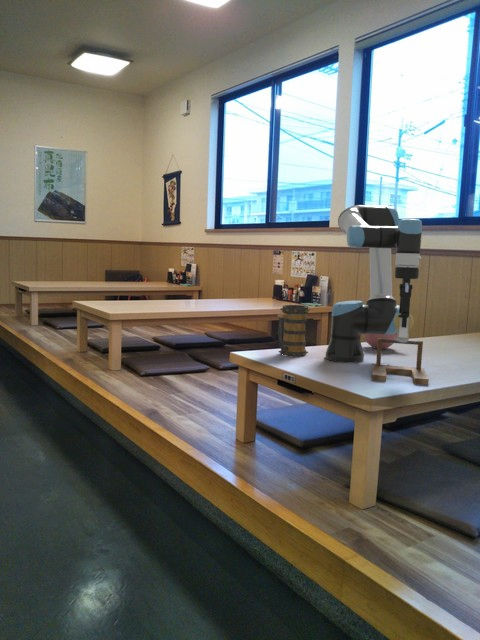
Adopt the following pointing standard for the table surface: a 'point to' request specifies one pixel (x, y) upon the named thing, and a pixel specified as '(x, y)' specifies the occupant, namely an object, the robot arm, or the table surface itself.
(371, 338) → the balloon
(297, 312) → the mug
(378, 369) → the wooden rack frame
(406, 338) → the light bulb
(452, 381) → the table surface
